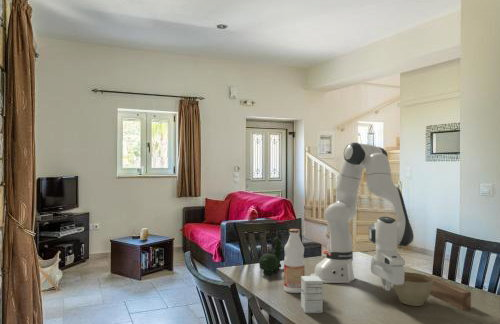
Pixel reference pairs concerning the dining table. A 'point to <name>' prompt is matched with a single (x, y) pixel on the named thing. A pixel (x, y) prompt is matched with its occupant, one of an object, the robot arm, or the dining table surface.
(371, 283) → the dining table surface
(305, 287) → the supplement box
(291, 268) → the fruit juice
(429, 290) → the planter bowl
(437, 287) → the board
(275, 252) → the green shrub
